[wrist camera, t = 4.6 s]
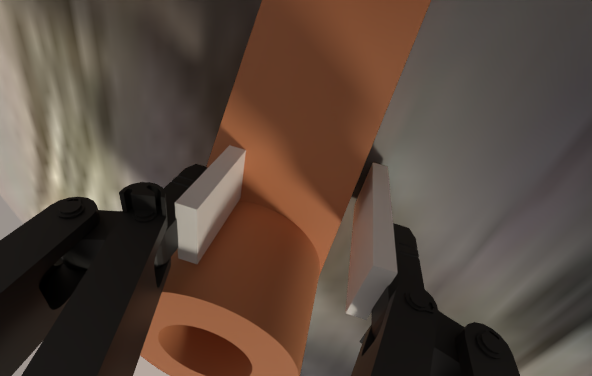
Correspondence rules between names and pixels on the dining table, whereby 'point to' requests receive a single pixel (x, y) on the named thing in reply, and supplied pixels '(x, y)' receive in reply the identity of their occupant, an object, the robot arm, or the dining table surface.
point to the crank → (284, 183)
